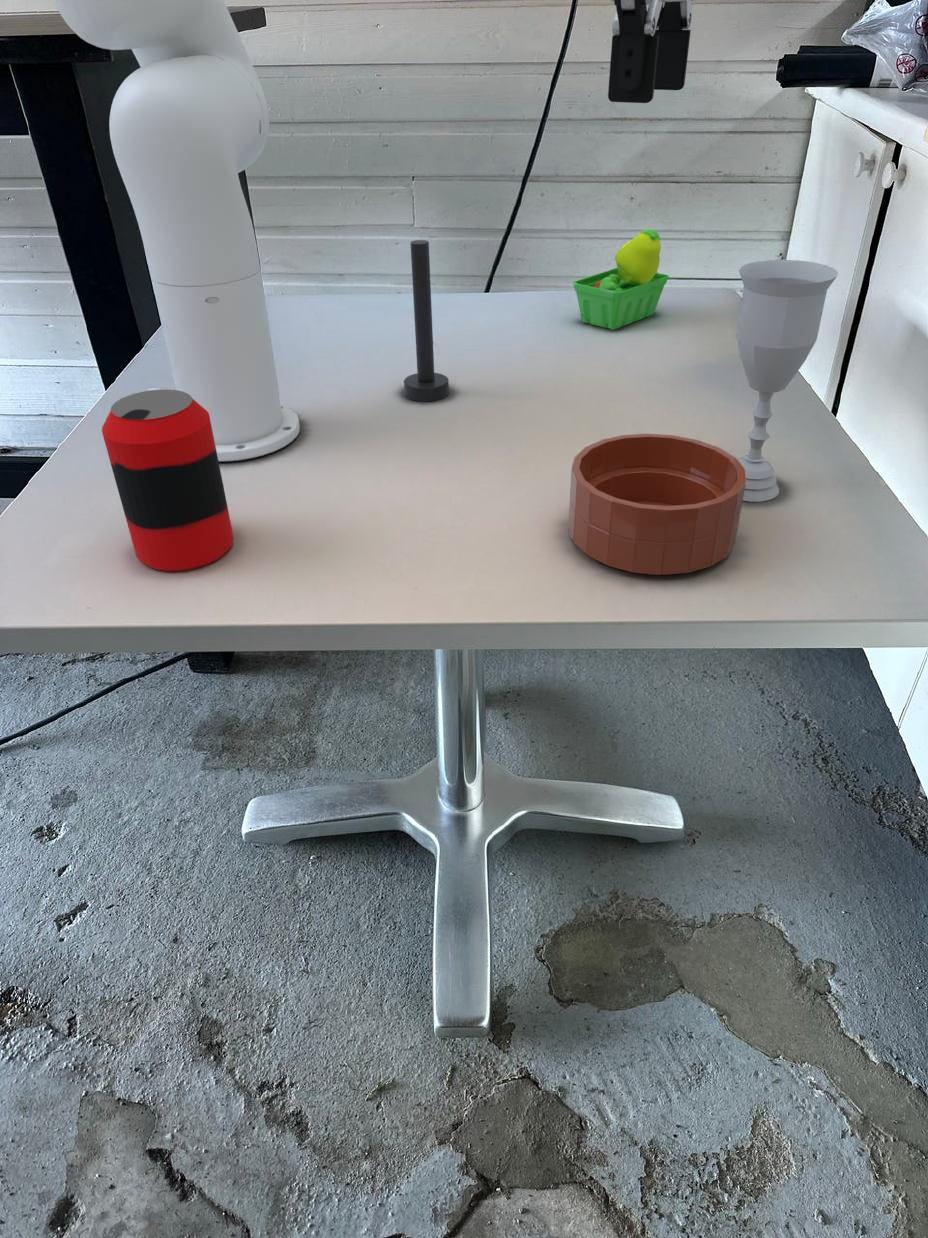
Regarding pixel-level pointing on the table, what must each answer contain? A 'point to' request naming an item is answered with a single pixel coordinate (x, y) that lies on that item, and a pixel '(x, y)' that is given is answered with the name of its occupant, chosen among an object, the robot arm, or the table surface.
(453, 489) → the table surface
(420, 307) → the upright rod on disc
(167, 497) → the soda can
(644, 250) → the fruit basket
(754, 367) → the chalice
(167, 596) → the table surface
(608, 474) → the bowl
